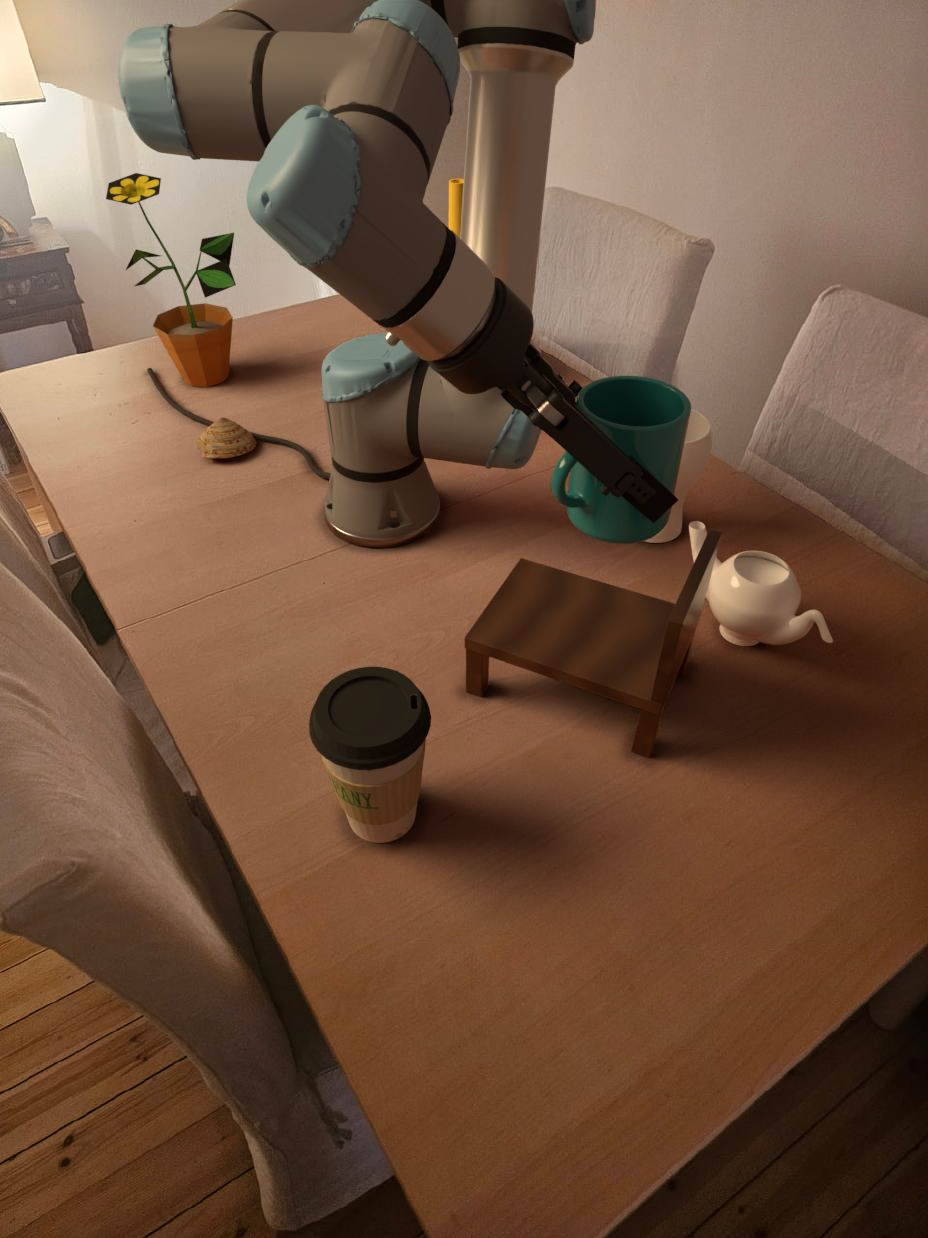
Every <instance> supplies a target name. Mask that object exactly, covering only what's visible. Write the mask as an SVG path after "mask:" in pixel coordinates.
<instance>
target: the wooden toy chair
mask: <svg viewBox="0 0 928 1238" xmlns="http://www.w3.org/2000/svg"><path fill="white" fill-rule="evenodd" d="M722 535H723V532H722V531H719V530H716V529H712V528H709V529H708V532H707V536H706V538H705V540H704V542H703V545H702V547H701V549H700V551H699V553H698V556H697V558H696V560H695V562H693V564H692V566H691V569H690V570H689V573H688V576H687V578H686V580H685V582H684V584H683V585H682V588H681V591H680V593H679V595H678V597H677V600H676V602H675V603H674V602H672V601H671V602H670V601H667V600H664V599H662V598H661V599H660V598H658V597H654V596H650V595H647V594H643V593H641V592H636V591H634V590H630V589H627V588H625V587H624V588H623V587H620V586H618V585H613V584H611V583H606V582H603V581H600V580H596V579H593V578H590V577H587V576H583V575H579V574H576V573H573V572H570V571H567V570H562V569H559V568H556V567H552V566H549V565H546V564H543V563H539V562H536V561H532V560H530V559H526V558H522V557H521V558H519V560H518V561H517V563H516V564H515V566H514V567H513V568H512V570H511V571H510V573H509V575H508V576H507V577H506V578H505V580H504V581H503V583H502V584H501V585H500V587H499V588H498V590H496V592H495V594H494V595H493V597H492V598H491V600H490V601H489V602H488V604H487V606H486V607H484V609H483V611H482V613H480V615H479V616H478V618H477V619H476V620H475V622H474V624H473V625H472V626H471V627H470V629H469V630H468V632H467V633H466V634H465V636H464V649H465V692H466V693H467V694H470V695H474V696H476V697H479V698H482V697H483V695H484V694H485V692H486V690H487V689H488V688H489V682H490V681H489V679H490V676H489V675H490V673H489V672H490V658H492V659H494V660H498V661H501V662H504V663H506V664H509V665H513V666H516V667H518V668H522V669H524V670H528V671H529V672H533V673H535V674H538V675H542V676H544V677H546V678H547V677H548V678H550V679H553V680H556V681H559V682H562V683H565V684H568V685H570V686H574V687H575V688H579V689H582V690H585V691H587V692H590V693H593V694H595V695H598V696H603V697H605V698H608V699H611V700H614V701H616V702H620V703H622V704H626V705H629V706H631V707H635V708H637V709H639V714H638V717H637V718H638V719H637V723H636V728H635V732H634V737H633V742H632V746H631V752H630V753H633V754H635V755H638V756H642V757H643V758H647V759H650V757H651V755H652V753H653V750H654V747H655V744H656V740H657V737H658V731H659V729H660V728H659V727H660V724H661V719H662V716H663V713H664V707H665V705H666V704H667V701H668V698H669V696H670V694H671V691H672V688H673V686H674V683H675V682H676V679H677V676H678V677H681V678H682V677H684V674H685V672H686V669H687V666H688V662H689V658H690V655H691V651H692V647H693V643H694V639H695V636H696V631H697V628H698V626H699V623H700V621H701V616H702V612H703V608H704V605H705V601H706V594H707V590H708V586H709V582H710V578H711V574H712V570H713V567H714V563H715V559H716V556H717V554H718V552H719V547H720V543H721V539H722Z"/></svg>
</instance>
